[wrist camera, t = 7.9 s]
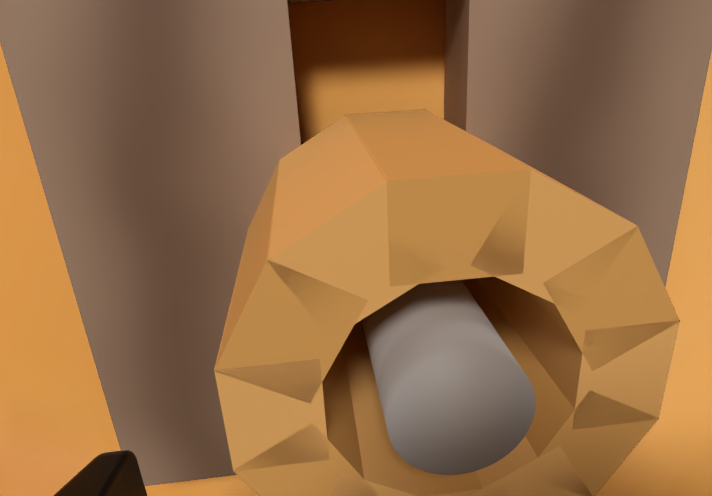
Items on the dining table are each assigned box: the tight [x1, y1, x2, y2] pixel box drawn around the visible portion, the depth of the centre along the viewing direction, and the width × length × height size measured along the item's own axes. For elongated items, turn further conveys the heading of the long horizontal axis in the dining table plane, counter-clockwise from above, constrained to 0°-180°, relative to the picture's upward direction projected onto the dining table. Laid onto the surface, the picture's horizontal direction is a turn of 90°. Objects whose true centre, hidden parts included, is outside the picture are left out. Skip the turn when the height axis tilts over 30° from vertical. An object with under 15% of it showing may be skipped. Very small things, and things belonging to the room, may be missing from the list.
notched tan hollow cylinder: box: [214, 109, 680, 496], centre depth 11 cm, size 7×7×6 cm
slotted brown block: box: [0, 0, 712, 486], centre depth 11 cm, size 16×14×8 cm
